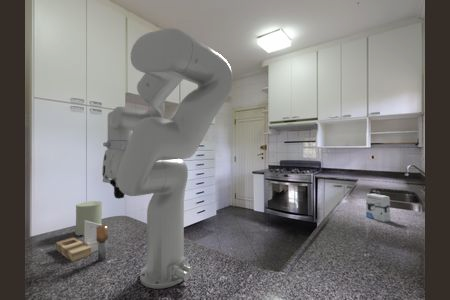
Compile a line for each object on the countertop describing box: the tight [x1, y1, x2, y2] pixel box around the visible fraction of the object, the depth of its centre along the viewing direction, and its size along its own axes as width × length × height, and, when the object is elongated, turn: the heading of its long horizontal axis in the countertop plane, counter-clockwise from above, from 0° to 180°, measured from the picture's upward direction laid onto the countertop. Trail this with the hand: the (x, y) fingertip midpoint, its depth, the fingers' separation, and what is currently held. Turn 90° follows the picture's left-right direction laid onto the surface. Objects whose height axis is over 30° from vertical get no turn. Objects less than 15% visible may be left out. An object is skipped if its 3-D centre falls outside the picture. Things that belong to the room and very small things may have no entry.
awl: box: [96, 224, 109, 262], centre depth 60 cm, size 3×3×10 cm
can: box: [74, 200, 103, 236], centre depth 83 cm, size 9×9×12 cm
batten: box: [55, 236, 92, 263], centre depth 65 cm, size 14×5×2 cm, turn 56°
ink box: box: [365, 193, 391, 223], centre depth 99 cm, size 8×5×12 cm, turn 17°
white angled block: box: [83, 220, 109, 254], centre depth 67 cm, size 4×10×9 cm
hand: (119, 197), depth 70 cm, fingers closed
